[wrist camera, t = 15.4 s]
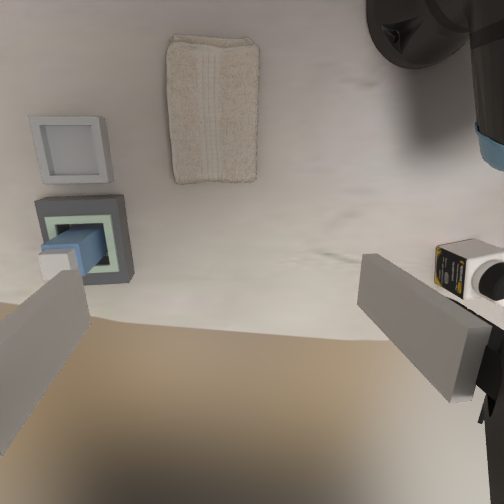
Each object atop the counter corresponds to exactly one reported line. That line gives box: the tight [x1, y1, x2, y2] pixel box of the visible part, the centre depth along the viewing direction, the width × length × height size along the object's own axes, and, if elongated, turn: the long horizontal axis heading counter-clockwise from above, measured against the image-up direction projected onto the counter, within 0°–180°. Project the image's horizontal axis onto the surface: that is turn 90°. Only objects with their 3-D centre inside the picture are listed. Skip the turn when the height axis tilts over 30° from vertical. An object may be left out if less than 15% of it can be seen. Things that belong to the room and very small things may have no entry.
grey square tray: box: [28, 116, 114, 184], centre depth 40 cm, size 8×8×2 cm
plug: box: [38, 223, 108, 281], centre depth 40 cm, size 4×4×12 cm
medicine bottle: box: [435, 239, 504, 307], centre depth 49 cm, size 7×7×12 cm
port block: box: [34, 195, 135, 285], centre depth 43 cm, size 12×10×4 cm
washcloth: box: [166, 34, 260, 184], centre depth 41 cm, size 12×18×3 cm, turn 0°
